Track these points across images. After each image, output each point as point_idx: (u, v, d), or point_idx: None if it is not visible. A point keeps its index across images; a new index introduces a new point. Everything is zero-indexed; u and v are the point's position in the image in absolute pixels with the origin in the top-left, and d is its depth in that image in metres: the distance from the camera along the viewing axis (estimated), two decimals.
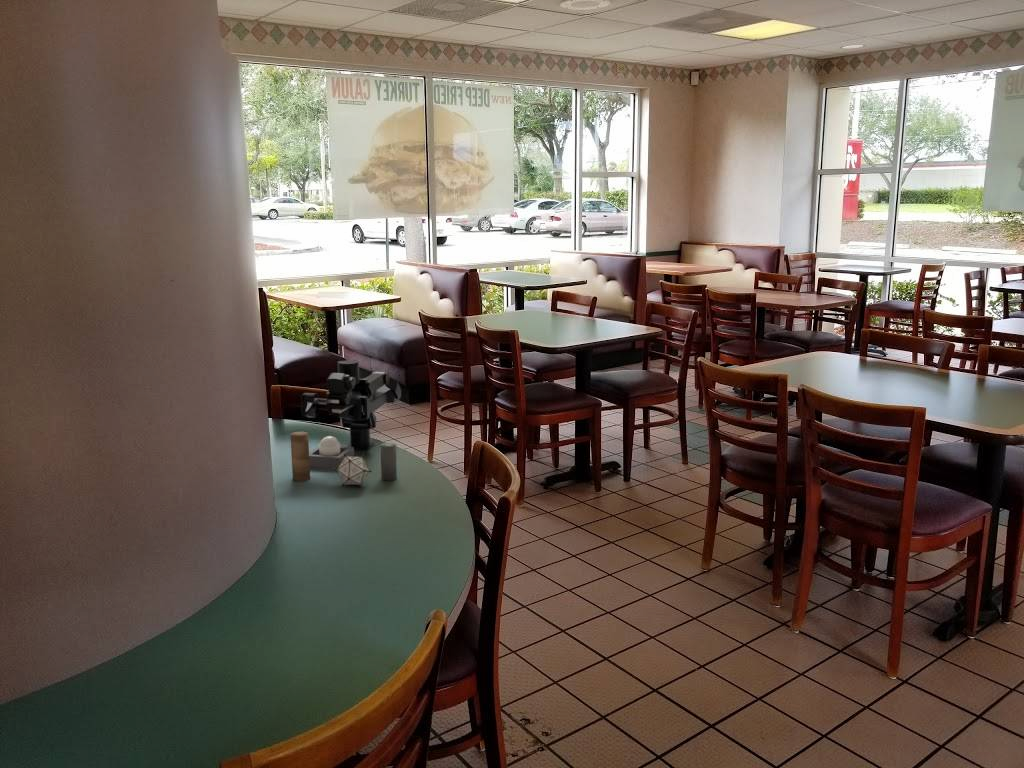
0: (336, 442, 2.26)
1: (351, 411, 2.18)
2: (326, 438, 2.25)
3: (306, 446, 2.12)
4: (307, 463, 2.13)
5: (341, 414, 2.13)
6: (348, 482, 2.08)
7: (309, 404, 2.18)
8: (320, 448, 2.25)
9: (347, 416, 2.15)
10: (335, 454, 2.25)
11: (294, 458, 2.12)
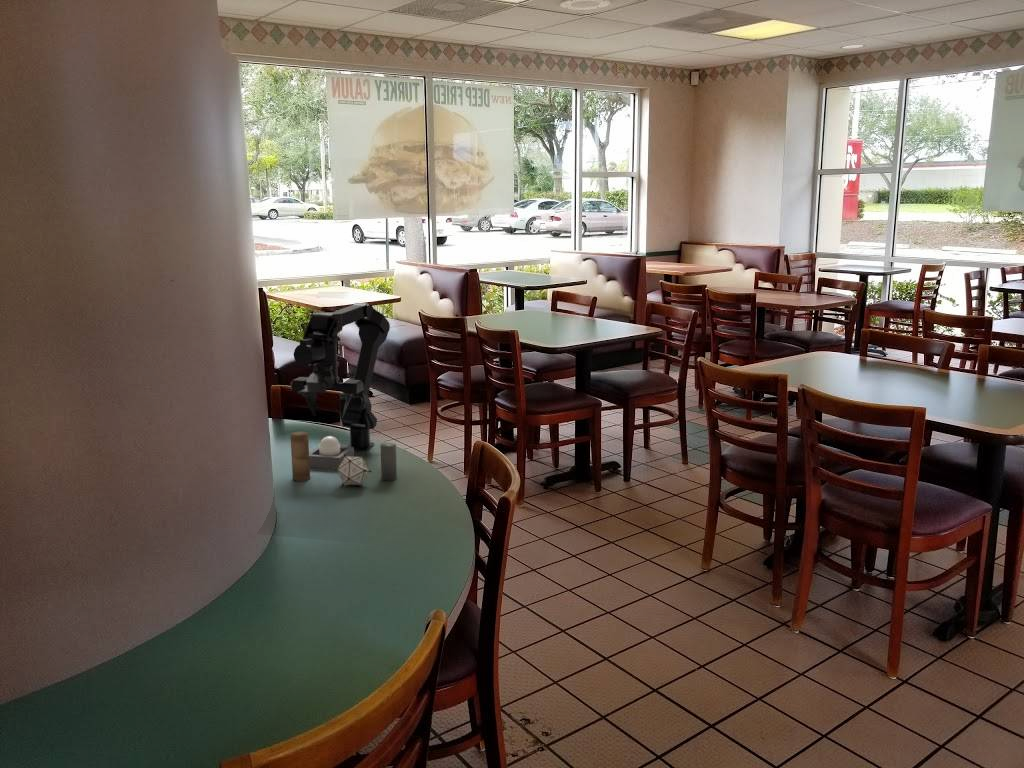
0: (336, 442, 2.26)
1: None
2: (326, 438, 2.25)
3: (306, 446, 2.12)
4: (307, 463, 2.13)
5: (343, 415, 2.24)
6: (348, 482, 2.08)
7: (309, 401, 2.24)
8: (320, 448, 2.25)
9: (346, 406, 2.24)
10: (335, 454, 2.25)
11: (294, 458, 2.12)
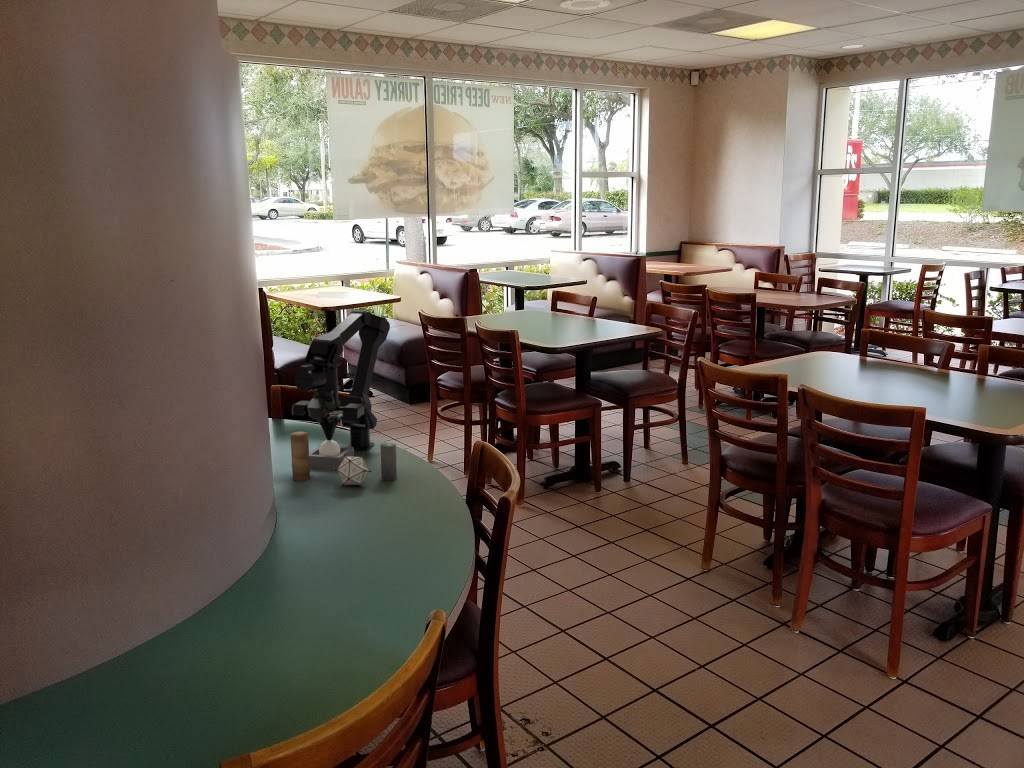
0: (336, 446, 2.26)
1: (333, 421, 2.25)
2: (326, 442, 2.25)
3: (306, 446, 2.12)
4: (307, 463, 2.13)
5: (331, 438, 2.26)
6: (348, 482, 2.08)
7: (323, 425, 2.24)
8: (320, 452, 2.25)
9: (334, 429, 2.27)
10: None
11: (293, 458, 2.12)
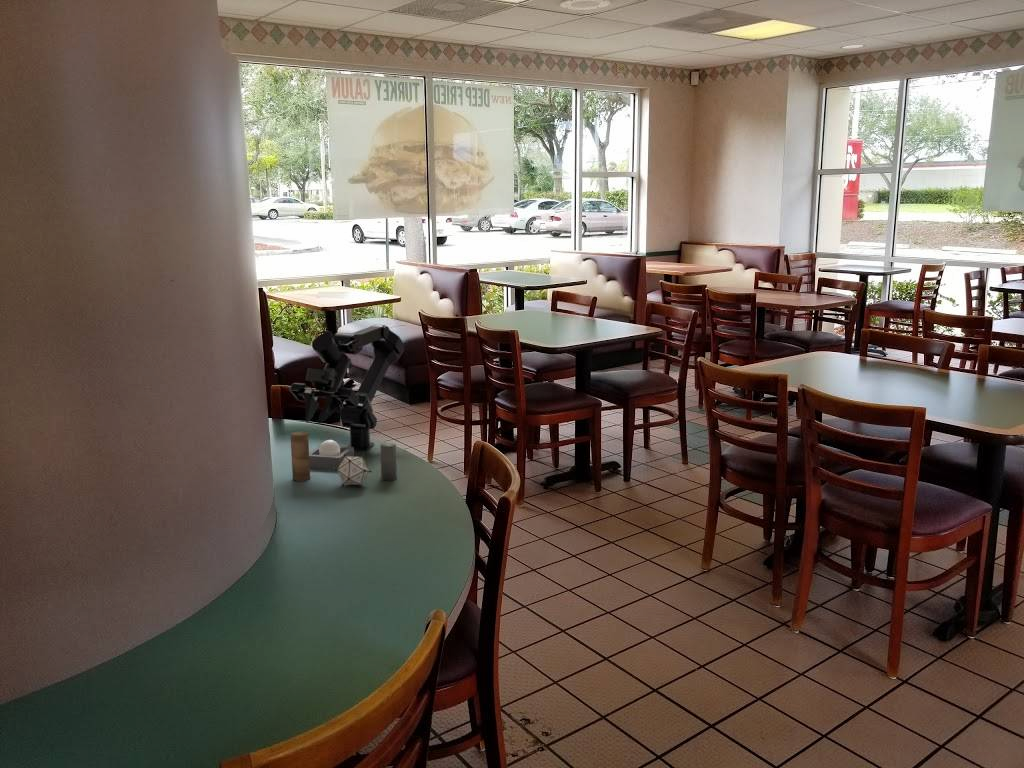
0: (336, 446, 2.26)
1: (330, 406, 2.19)
2: (326, 442, 2.25)
3: (306, 446, 2.12)
4: (307, 463, 2.13)
5: (320, 421, 2.17)
6: (348, 482, 2.08)
7: (308, 405, 2.19)
8: (320, 452, 2.25)
9: (327, 416, 2.18)
10: None
11: (294, 458, 2.12)
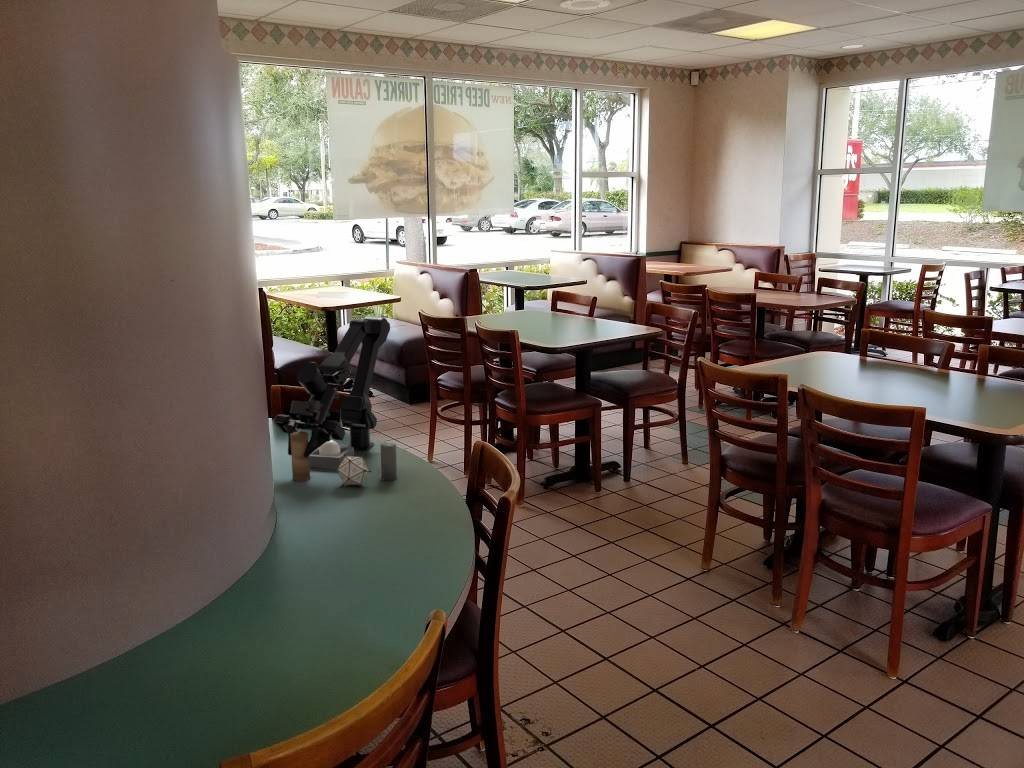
0: (336, 446, 2.26)
1: (317, 439, 2.13)
2: (326, 442, 2.25)
3: (306, 446, 2.12)
4: (307, 463, 2.13)
5: (306, 455, 2.11)
6: (348, 482, 2.08)
7: None
8: (320, 452, 2.25)
9: (314, 449, 2.13)
10: None
11: (293, 458, 2.12)
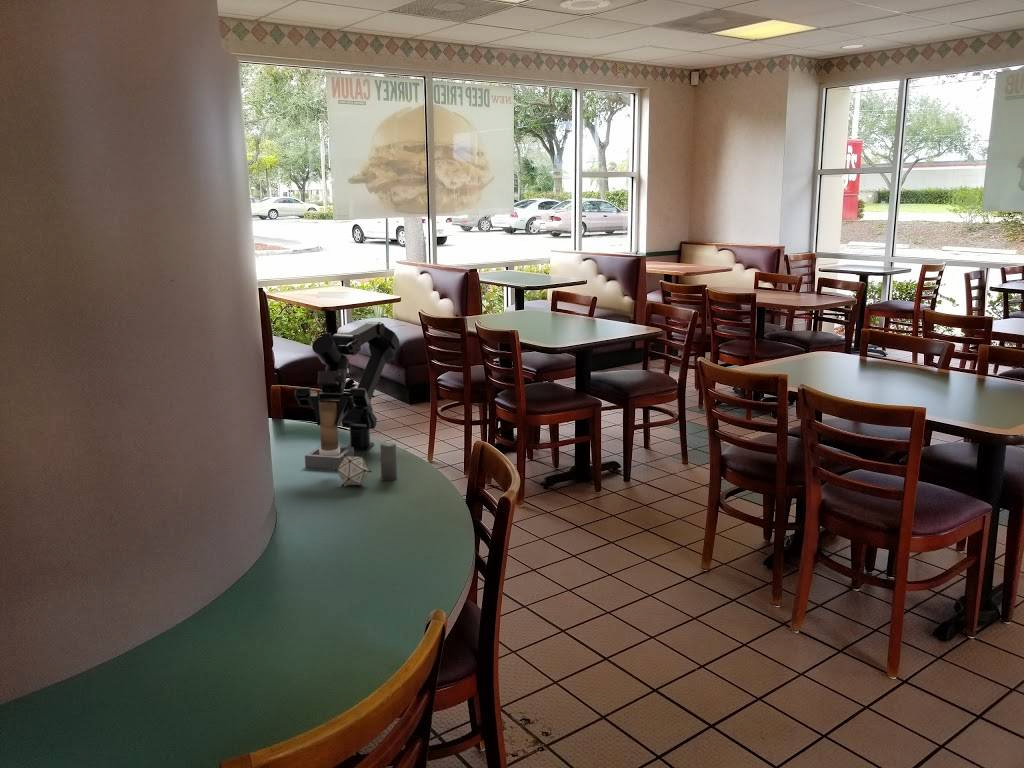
0: None
1: (343, 408, 2.18)
2: None
3: (336, 415, 2.16)
4: (337, 432, 2.17)
5: (337, 423, 2.15)
6: (348, 482, 2.08)
7: (316, 408, 2.16)
8: (320, 452, 2.25)
9: (342, 417, 2.17)
10: None
11: (324, 427, 2.14)
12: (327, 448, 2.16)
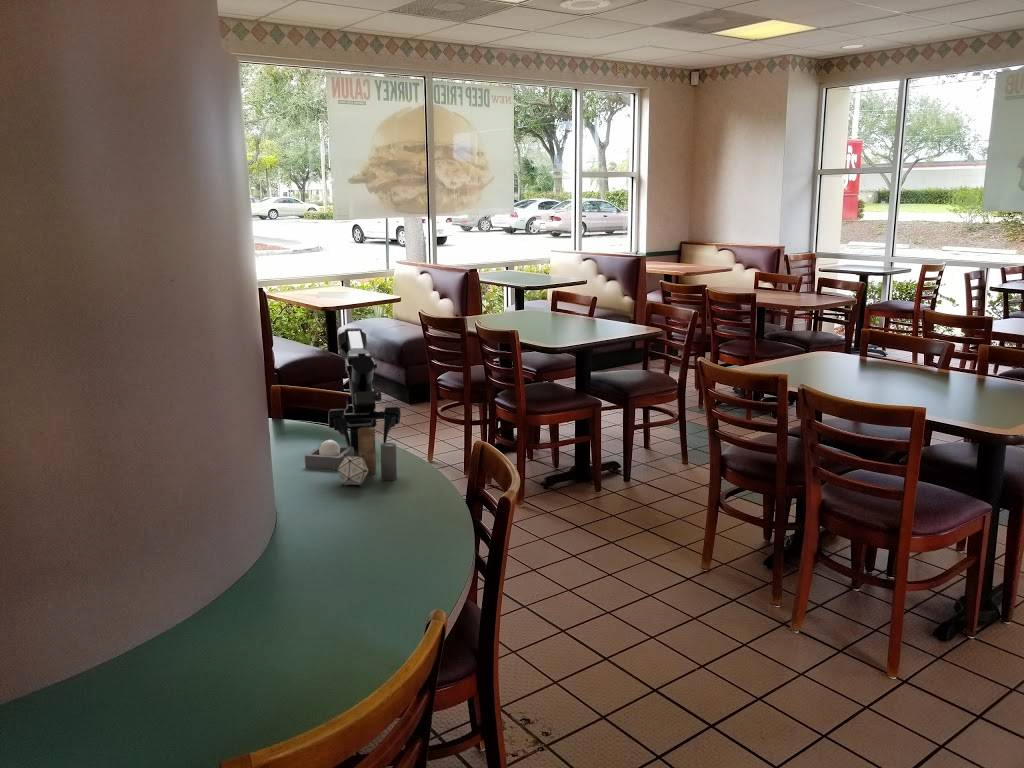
0: (336, 446, 2.26)
1: None
2: (326, 442, 2.25)
3: None
4: (375, 456, 2.19)
5: (385, 441, 2.18)
6: (348, 482, 2.08)
7: (345, 429, 2.16)
8: (320, 452, 2.25)
9: None
10: None
11: (366, 453, 2.16)
12: (368, 473, 2.18)
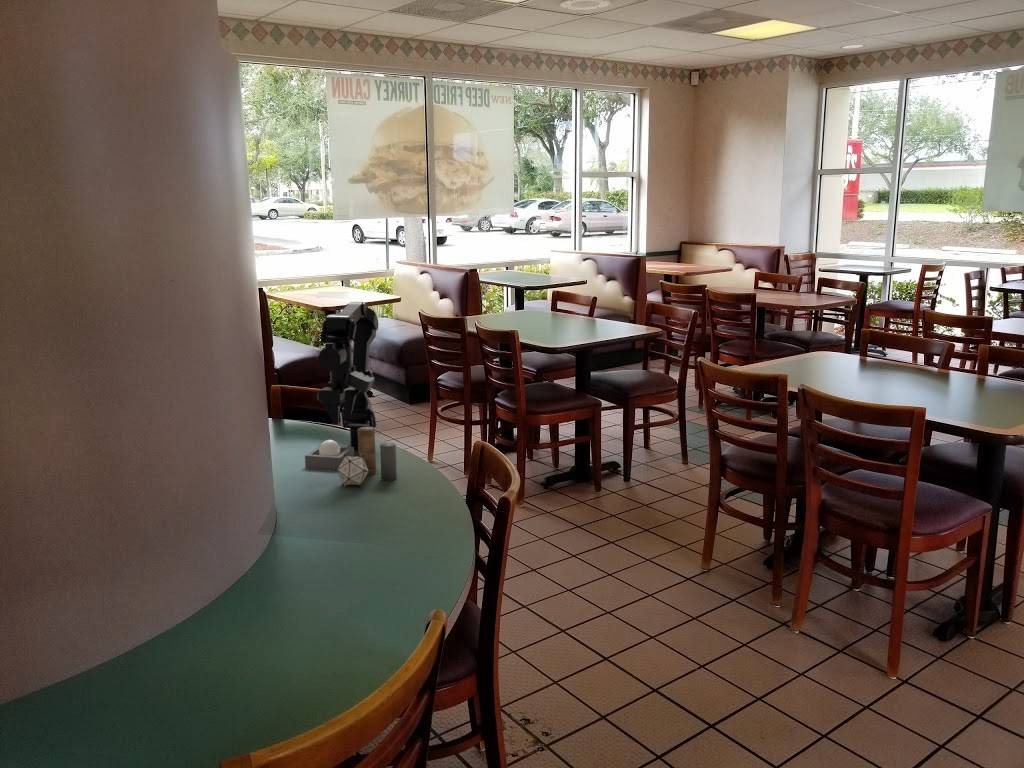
0: (336, 446, 2.26)
1: None
2: (326, 442, 2.25)
3: (374, 439, 2.18)
4: (375, 456, 2.19)
5: None
6: (348, 482, 2.08)
7: (338, 409, 2.16)
8: (320, 452, 2.25)
9: None
10: None
11: (365, 453, 2.16)
12: (368, 473, 2.18)
